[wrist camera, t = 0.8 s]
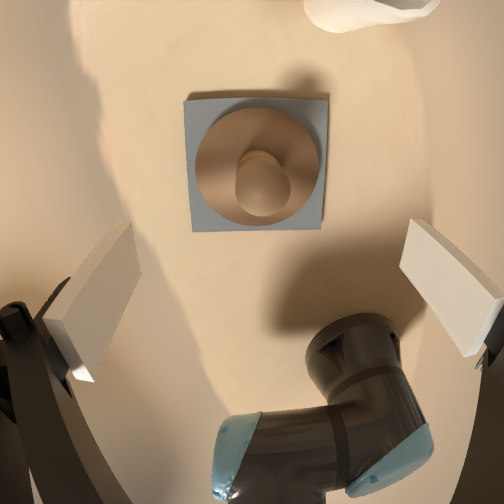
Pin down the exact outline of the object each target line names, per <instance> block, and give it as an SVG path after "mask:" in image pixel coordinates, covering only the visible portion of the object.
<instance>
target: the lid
mask: <svg viewBox="0 0 504 504" xmlns="http://www.w3.org/2000/svg"><path fill="white" fill-rule="evenodd" d="M318 172H319V160H318V154H317V151H316V147H315V145H314V142H313V140H312V138H311V137H310V135H309V134H308V132H307V131H306V130H305V129H304V127H303V126H302V125H301V124H300V123H298V122H297V121H296V120H295V119H293V118H292V117H290V116H289V115H287V114H285V113H283V112H280V111H277V110H274V109H269V108H260V107H254V108H245V109H241V110H238V111H235V112H232V113H230V114H228V115H226V116H224V117H223V118H221V119H220V120H219V121H217V122H216V123H215V124H214V125H213V126H212V127H211V128H210V129H209V130H208V132H207V133H206V134H205V136H204V137H203V139H202V141H201V143H200V145H199V148H198V151H197V155H196V161H195V174H196V180H197V184H198V187H199V189H200V192H201V194H202V195H203V197H204V199H205V200H206V202H207V203H208V204H209V205H210V207H211V208H213V209H214V210H215V211H216V212H217V213H218V214H220V215H221V216H222V217H224V218H226V219H228V220H230V221H232V222H235V223H238V224H241V225H247V226H266V225H271V224H275V223H278V222H281V221H283V220H285V219H287V218H289V217H290V216H292V215H294V214H295V213H296V212H297V211H299V210H300V209H301V208H302V207H303V206H304V205H305V203H306V202H307V201H308V199H309V198H310V196H311V194H312V193H313V191H314V188H315V186H316V182H317V179H318Z"/></svg>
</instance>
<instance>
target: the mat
mask: <svg viewBox="0 0 504 504" xmlns="http://www.w3.org/2000/svg"><path fill="white" fill-rule="evenodd" d="M254 107H260V108H269V109H274V110H277V111H280V112H283V113H285V114H287V115H289V116H290V117H292V118H293V119H295V120H296V121H297V122H298V123H300V124H301V125H302V126H303V127H304V129H305V130H306V131H307V132H308V134H309V135H310V137H311V138H312V140H313V142H314V145H315V147H316V151H317V154H318V160H319V172H318V179H317V182H316V186H315V188H314V191H313V193H312V194H311V196H310V198H309V199H308V201H307V202H306V203H305V205H304V206H303V207H302V208H301V209H300V210H299V211H297V212H296V213H295V214H294V215H292V216H290V217H289V218H287V219H285V220H283V221H281V222H278V223H275V224H271V225H266V226H247V225H241V224H238V223H235V222H232V221H230V220H228V219H226V218H224V217H222V216H221V215H220V214H218V213H217V212H216V211H215V210H214V209H213V208H211V207H210V205H209V204H208V203H207V202H206V200H205V199H204V197H203V195H202V194H201V192H200V189H199V187H198V184H197V180H196V174H195V161H196V155H197V151H198V148H199V145H200V143H201V141H202V139H203V137H204V136H205V134H206V133H207V132H208V130H209V129H210V128H211V127H212V126H213V125H214V124H215V123H216V122H217V121H219V120H220V119H221V118H223V117H224V116H226V115H228V114H230V113H232V112H235V111H238V110H241V109H245V108H254ZM327 116H328V101H327V100H315V99H298V98H263V97H253V98H218V99H202V100H189V101H184V125H185V144H186V160H187V174H188V187H189V199H190V211H191V221H192V231H193V232H219V231H259V230H321V220H322V208H323V195H324V181H325V164H326V144H327Z"/></svg>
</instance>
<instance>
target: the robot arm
mask: <svg viewBox="0 0 504 504" xmlns="http://www.w3.org/2000/svg"><path fill="white" fill-rule="evenodd" d="M399 267H400V269H401V270H402V271H403V272H404V274H405V275H406V276H407V277H408V279H409V280H410V281H411V283H412V284H413V285H414V287H415V288H416V289H417V290H418V292H419V293H420V294H421V296H422V297H423V299H424V300H425V301H426V303H427V304H428V305H429V307H430V308H431V309H432V311H433V312H434V314H435V315H436V317H437V318H438V319H439V321H440V322H441V324H442V325H443V327H444V328H445V329H446V331H447V332H448V334H449V335H450V337H451V338H452V340H453V341H454V343H455V345H456V346H457V348H458V349H459V351H460V352H461V354H462V355H463V357H464V358H465V357H468V356H471V355H474V354H477V352H478V351H479V349H480V347H481V346H482V344H483V342H484V343H485V344H486V346H487V349H486V350H485V352H484V353H483V355H482V357H481V358H480V360H479V361H478V363H477V364H476V367H475V369H477V368H478V367H479V365H481V364H483V365H482V368H481V369H480V371H482V376H481V384H480V392H479V399H478V405H477V411H476V416H475V421H474V426H473V431H472V435H471V439H470V443H469V447H468V451H467V455H466V458H465V462H464V466H463V469H462V472H461V475H460V478H459V481H458V484H457V487H456V489H455V492H454V495H453V497H452V500H451V502H450V504H504V293H503V292H502V291H501V290H500V289H499V288H498V287H497V286H496V285H495V284H494V283H493V282H492V281H491V280H490V279H489V278H488V277H487V276H486V275H485V274H484V273H483V272H482V271H481V270H480V269H479V268H478V267H477V266H476V265H475V264H474V263H473V262H472V261H471V260H469V258H468V257H467V256H465V255H464V254H463V253H462V252H461V251H460V250H459V249H458V248H457V247H455V246H454V245H453V244H452V243H451V242H450V241H449V240H447V239H446V238H445V237H444V236H443V235H442V234H440V233H439V232H438V231H437V230H436V229H435V228H433V227H432V226H431V225H430V224H428V223H427V222H426V221H425V220H424V219H421V218H410V223H409V227H408V232H407V236H406V241H405V245H404V249H403V253H402V257H401V261H400V265H399ZM140 276H141V269H140V265H139V260H138V255H137V251H136V246H135V241H134V236H133V231H132V225H131V222H126V223H116V224H115V225H114V226H113V227H112V228H111V230H110V231H109V232H108V233H107V234H106V235H105V237H104V238H103V239H102V240H101V241H100V242H99V243H98V245H97V246H96V247H95V248H94V249H93V251H92V252H91V253H90V254H89V255H88V257H87V258H86V259H85V261H84V262H83V263H82V264H81V265H80V267H79V268H78V270H77V271H76V272H75V273H74V274H73V276H72V277H68V278H67V279H65V280H64V281H63V282H62V283H60V284H59V285H58V286H57V288H56V289H55V290H54V292H53V294H51V296H50V297H49V298H48V301H46V302H45V304H44V305H43V306H42V308H41V310H40V311H39V312H38V314H37V315H36V316H35V318H34V319H32V317H31V315H30V313H29V311H28V309H27V307H26V305H25V303H23V302H12V303H9V304H7V305H6V306H4V307H3V308H2V309H1V310H0V335H1V336H2V338H3V340H0V504H34V499H33V493H32V488H31V482H30V474H29V468H30V471H31V474H32V476H33V479H34V482H35V485H36V487H37V490H38V492H39V495H40V497H41V499H42V502H43V504H133V503H132V502H131V500H130V499H129V497H128V496H127V494H126V493H125V491H124V490H123V489H122V487H121V485H120V484H119V482H118V480H117V479H116V477H115V476H114V474H113V472H112V471H111V469H110V467H109V465H108V464H107V462H106V460H105V458H104V456H103V455H102V453H101V452H100V449H99V447H98V445H97V443H96V441H95V439H94V437H93V435H92V433H91V431H90V429H89V427H88V425H87V423H86V421H85V419H84V416H83V414H82V412H81V410H80V407H79V405H78V403H77V400H76V398H75V395H74V393H73V390H72V388H71V385H70V382H69V381H68V379H67V378H66V374H67V372H68V370H69V368H70V370H71V371H72V373H73V375H74V376H75V377H76V379H79V380H85V381H91V382H95V379H96V377H97V374H98V371H99V369H100V366H101V364H102V361H103V359H104V356H105V354H106V351H107V349H108V347H109V344H110V342H111V340H112V337H113V334H114V333H115V330H116V328H117V326H118V323H119V321H120V319H121V316H122V314H123V312H124V310H125V308H126V306H127V303H128V301H129V299H130V297H131V295H132V293H133V291H134V289H135V287H136V284H137V283H138V280H139V278H140ZM305 360H306V365H307V370H308V373H309V376H310V378H311V379H312V381H313V382H314V383H315V385H316V386H317V388H318V389H319V390H320V392H321V393H322V395H323V396H324V397H325V399H326V400H327V404H328V405H327V406H319V407H312V408H304V409H295V410H286V411H275V412H263V413H262V411H261V412H257V413H253V414H243V415H234V416H230V417H228V418H227V419H226V420H224V422H223V423H222V424H221V426H220V429H219V431H218V435H217V438H216V443H215V448H214V455H213V462H212V474H211V486H212V491H213V493H212V494H213V497H214V498H215V499H217V500H220V501H221V502H225V501H227V502H228V504H326V497H325V494H326V492H329V491H333V490H338V489H343V488H345V489H346V490H345V493H346V494H348V496H349V497H351V498H357V497H360V496H365V495H368V494H371V493H374V492H376V491H379V490H381V489H383V488H385V487H388V486H390V485H392V484H394V483H396V482H398V481H399V480H401V479H403V478H405V477H406V476H408V475H410V474H411V473H413V472H414V471H416V470H417V469H419V468H420V467H421V466H422V465H424V464H425V463H426V462H427V461H428V460H429V458H430V457H431V456H432V454H433V451H434V443H433V439H432V436H431V433H430V429H429V424H428V423H427V422H426V420H425V417H424V415H423V414H422V411H421V409H420V406H419V404H418V402H417V400H416V397H415V395H414V393H413V391H412V389H411V387H410V385H409V383H408V381H407V378H406V376H405V374H404V372H403V370H402V363H401V352H400V342H399V337H398V334H397V332H396V331H395V329H394V327H393V325H392V324H391V322H390V321H389V320H387V319H386V318H384V317H382V316H379V315H375V314H359V315H354V316H350V317H347V318H344V319H341V320H339V321H337V322H335V323H333V324H331V325H330V326H328V327H327V328H325V329H324V330H323V331H321V332H320V333H319V334H318V335H317V336H316V337H315V338H314V339H313V341H312V342H311V343H310V345H309V347H308V349H307V352H306V357H305ZM28 465H29V466H28Z"/></svg>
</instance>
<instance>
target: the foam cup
mask: <svg viewBox="0 0 504 504" xmlns="http://www.w3.org/2000/svg"><path fill="white" fill-rule="evenodd" d="M439 5H440V0H303V6H304V10H305V14H306V15H307V16H308V17H309V19H310V20H311V21H312V22H313V24H315V25H317V26H318V27H320V28H322V29H323V30H325V31H329V32H334V33H343V32H348V31H353V30H357V29H361V28H366V27H370V26H375V25H380V24H395V23H404V22H411V21H413V20H416V19H419V18H422V17H425V16H427V15H428V14H429V13H430V12H432V11H433V10H434V9H435V8H436V7H437V6H439Z"/></svg>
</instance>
